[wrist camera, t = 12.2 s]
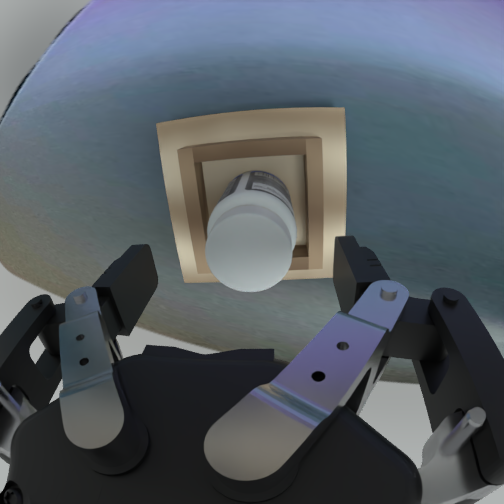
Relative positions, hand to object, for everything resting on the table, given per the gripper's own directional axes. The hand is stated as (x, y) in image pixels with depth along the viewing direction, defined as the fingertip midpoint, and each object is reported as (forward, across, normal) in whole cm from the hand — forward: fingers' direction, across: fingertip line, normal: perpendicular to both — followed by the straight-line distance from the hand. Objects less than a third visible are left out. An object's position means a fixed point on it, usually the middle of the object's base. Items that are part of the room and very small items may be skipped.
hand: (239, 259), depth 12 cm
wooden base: (+12, 0, 0) cm, 12 cm away
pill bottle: (+9, 0, 0) cm, 9 cm away
